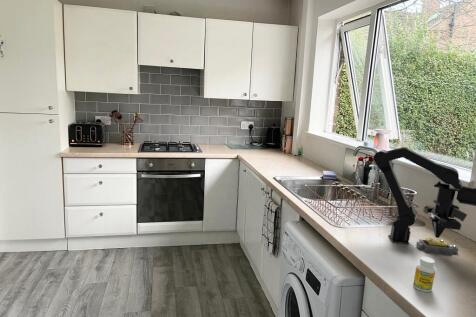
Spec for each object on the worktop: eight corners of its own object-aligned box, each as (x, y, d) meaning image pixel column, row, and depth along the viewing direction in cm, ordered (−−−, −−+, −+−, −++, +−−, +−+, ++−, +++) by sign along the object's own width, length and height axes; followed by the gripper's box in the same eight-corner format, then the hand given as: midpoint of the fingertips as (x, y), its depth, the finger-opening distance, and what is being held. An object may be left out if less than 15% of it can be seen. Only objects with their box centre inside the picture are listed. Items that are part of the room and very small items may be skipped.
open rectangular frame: (420, 251, 141) (422, 245, 140) (414, 244, 147) (415, 238, 147) (459, 255, 140) (460, 249, 140) (451, 248, 146) (452, 242, 146)
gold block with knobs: (427, 251, 142) (429, 240, 141) (423, 247, 146) (425, 236, 145) (445, 253, 142) (447, 242, 141) (441, 249, 145) (443, 238, 144)
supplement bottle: (428, 284, 116) (433, 257, 114) (434, 293, 110) (440, 265, 109) (410, 281, 116) (415, 254, 114) (415, 290, 111) (421, 262, 109)
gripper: (480, 210, 130) (471, 250, 133) (454, 195, 148) (446, 230, 151) (448, 206, 131) (440, 246, 134) (426, 192, 149) (419, 227, 152)
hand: (436, 237), depth 143 cm, fingers closed
